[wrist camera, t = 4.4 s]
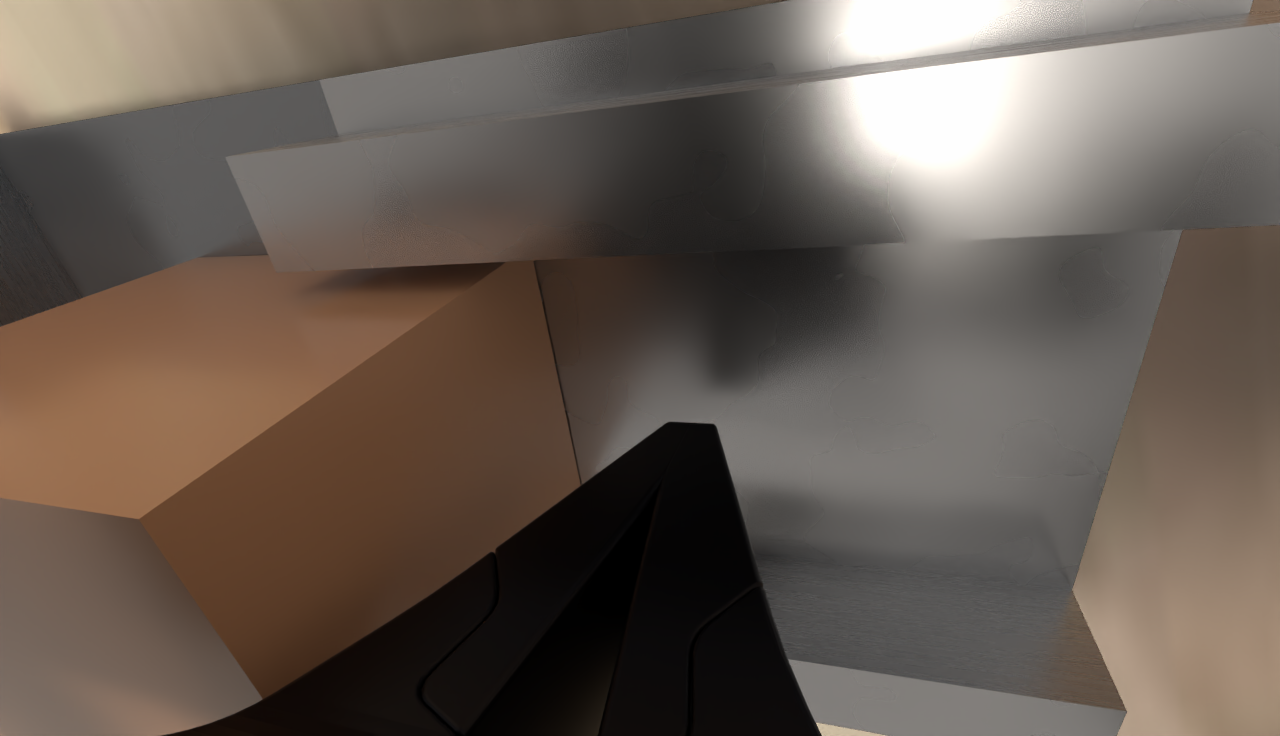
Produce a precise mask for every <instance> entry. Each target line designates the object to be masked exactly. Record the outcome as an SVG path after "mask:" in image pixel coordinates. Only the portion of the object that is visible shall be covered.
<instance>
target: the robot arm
mask: <svg viewBox="0 0 1280 736" xmlns="http://www.w3.org/2000/svg"><path fill="white" fill-rule="evenodd" d="M161 736H822V735H821V733H820V731H819V729H818V727H817V725H816V723H815V720H814V718H813V716H812V714H811V712H810V710H809V707H808V705H807V703H806V701H805V699H804V696H803V694H802V691H801V689H800V687H799V684H798V682H797V679H796V677H795V675H794V672H793V670H792V668H791V665H790V663H789V660H788V658H787V656H786V653H785V650H784V647H783V644H782V641H781V638H780V635H779V632H778V629H777V626H776V624H775V621H774V618H773V615H772V611H771V608H770V604H769V601H768V598H767V594H766V591H765V589H764V587H763V582H762V578H761V575H760V572H759V568H758V565H757V561H756V558H755V555H754V551H753V548H752V544H751V541H750V538H749V534H748V531H747V527H746V524H745V521H744V517H743V514H742V511H741V507H740V504H739V500H738V497H737V494H736V490H735V487H734V483H733V480H732V477H731V473H730V470H729V466H728V463H727V460H726V456H725V453H724V450H723V446H722V443H721V439H720V436H719V433H718V429H717V427H716V425H714V424H711V423H690V422H667V423H665V424H664V425H662V426H661V427H660V428H658V429H657V430H656V431H654V432H653V433H652V434H650V435H649V436H647V437H646V438H645V439H643V440H642V441H641V442H639V443H638V444H637V445H635V446H634V447H632V448H631V449H630V450H628V451H627V452H626V453H624V454H623V455H622V456H620V457H619V458H618V459H616V460H615V461H613V462H612V463H611V464H609V465H608V466H607V467H605V468H604V469H603V470H601V471H600V472H598V473H597V474H596V475H594V476H593V477H592V478H590V479H589V480H588V481H586V482H585V483H583V484H582V485H581V486H579V487H578V488H577V489H575V490H574V491H573V492H571V493H570V494H569V495H567V496H566V497H564V498H563V499H562V500H560V501H559V502H558V503H556V504H555V505H554V506H552V507H551V508H549V509H548V510H547V511H545V512H544V513H543V514H541V515H540V516H539V517H537V518H536V519H535V520H533V521H532V522H530V523H529V524H528V525H526V526H525V527H524V528H522V529H521V530H520V531H518V532H517V533H515V534H514V535H513V536H511V537H510V538H509V539H507V540H506V541H505V542H503V543H502V544H501V545H499V546H498V547H497V548H496V549H495V553H494V552H489V553H488V554H487V555H485V556H484V557H482V558H481V559H480V560H478V561H477V562H476V563H474V564H473V565H472V566H470V567H469V568H468V569H466V570H465V571H463V572H462V573H460V574H459V575H458V576H456V577H455V578H453V579H452V580H450V581H449V582H448V583H446V584H445V585H443V586H442V587H440V588H439V589H438V590H436V591H435V592H433V593H432V594H430V595H429V596H427V597H426V598H424V599H423V600H421V601H420V602H418V603H417V604H415V605H414V606H412V607H410V608H409V609H407V610H406V611H404V612H403V613H401V614H400V615H398V616H396V617H395V618H393V619H392V620H390V621H389V622H387V623H386V624H384V625H382V626H381V627H379V628H378V629H376V630H374V631H373V632H371V633H370V634H368V635H366V636H365V637H363V638H361V639H360V640H358V641H357V642H355V643H353V644H352V645H350V646H349V647H347V648H345V649H344V650H342V651H341V652H339V653H337V654H336V655H334V656H333V657H331V658H329V659H328V660H326V661H324V662H323V663H321V664H320V665H318V666H316V667H315V668H313V669H312V670H310V671H308V672H307V673H305V674H304V675H302V676H300V677H299V678H297V679H295V680H294V681H292V682H291V683H289V684H287V685H286V686H284V687H283V688H281V689H279V690H278V691H276V692H274V693H273V694H271V695H269V696H267V697H266V698H264V699H262V700H261V701H259V702H257V703H255V704H253V705H251V706H249V707H247V708H245V709H243V710H241V711H239V712H237V713H235V714H232V715H230V716H227V717H225V718H222V719H219V720H217V721H214V722H212V723H209V724H205V725H202V726H199V727H195V728H192V729H189V730H184V731H180V732H176V733H171V734H166V735H161Z"/></svg>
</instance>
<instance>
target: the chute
mask: <svg viewBox="0 0 1280 736" xmlns="http://www.w3.org/2000/svg"><path fill="white" fill-rule="evenodd" d="M1252 2H1253V0H788V1H782V2H776V3H770V4H764V5H758V6H752V7H746V8H740V9H734V10H729V11H723V12H717V13H711V14H705V15H699V16H693V17H687V18H681V19H675V20H670V21H664V22H658V23H652V24H646V25H640V26H634V27H628V28H622V29H616V30H611V31H605V32H599V33H593V34H587V35H581V36H575V37H569V38H563V39H557V40H552V41H546V42H540V43H534V44H528V45H522V46H516V47H510V48H504V49H498V50H493V51H487V52H481V53H475V54H469V55H463V56H457V57H451V58H445V59H439V60H434V61H428V62H422V63H416V64H410V65H404V66H398V67H392V68H386V69H380V70H375V71H369V72H363V73H357V74H351V75H345V76H339V77H333V78H327V79H321V80H317V81H311V82H305V83H299V84H293V85H287V86H281V87H275V88H270V89H264V90H258V91H252V92H246V93H240V94H234V95H228V96H222V97H216V98H210V99H205V100H199V101H193V102H187V103H181V104H175V105H169V106H163V107H157V108H151V109H146V110H140V111H134V112H128V113H122V114H116V115H110V116H104V117H98V118H92V119H86V120H81V121H75V122H69V123H63V124H57V125H51V126H45V127H39V128H33V129H27V130H22V131H16V132H10V133H4V134H0V327H1V326H4V325H7V324H10V323H13V322H15V321H18V320H21V319H24V318H27V317H30V316H33V315H35V314H38V313H41V312H44V311H47V310H50V309H53V308H55V307H58V306H61V305H64V304H67V303H70V302H72V301H75V300H78V299H81V298H84V297H87V296H90V295H92V294H95V293H98V292H101V291H104V290H107V289H110V288H112V287H115V286H118V285H121V284H124V283H127V282H130V281H132V280H135V279H138V278H141V277H144V276H147V275H149V274H152V273H155V272H158V271H161V270H164V269H167V268H169V267H172V266H175V265H178V264H181V263H184V262H187V261H189V260H192V259H195V258H201V257H228V256H256V255H269V257H270V260H271V262H272V264H273V266H274V269H275V271H276V273H279V272H300V271H321V270H342V269H363V268H384V267H406V266H427V265H448V264H469V263H490V262H511V261H532V260H533V262H534V266H535V271H536V276H537V281H538V285H539V290H540V295H541V300H542V304H543V309H544V314H545V319H546V323H547V328H548V333H549V337H550V342H551V347H552V352H553V356H554V361H555V366H556V371H557V375H558V380H559V385H560V390H561V394H562V399H563V404H564V409H565V413H566V418H567V423H568V427H569V432H570V437H571V442H572V446H573V451H574V456H575V461H576V465H577V470H578V475H579V480H580V484H581V485H582V484H583V483H585V482H586V481H588V480H589V479H590V478H592V477H593V476H594V475H596V474H597V473H598V472H600V471H601V470H603V469H604V468H605V467H607V466H608V465H609V464H611V463H612V462H613V461H615V460H616V459H618V458H619V457H620V456H622V455H623V454H624V453H626V452H627V451H628V450H630V449H631V448H632V447H634V446H635V445H637V444H638V443H639V442H641V441H642V440H643V439H645V438H646V437H647V436H649V435H650V434H652V433H653V432H654V431H656V430H657V429H658V428H660V427H661V426H662V425H664V424H665V423H667V422H690V423H711V424H714V425H716V427H717V429H718V433H719V436H720V439H721V443H722V446H723V450H724V453H725V456H726V460H727V463H728V466H729V470H730V473H731V477H732V480H733V483H734V487H735V490H736V494H737V497H738V500H739V504H740V507H741V511H742V514H743V517H744V521H745V524H746V527H747V531H748V534H749V538H750V541H751V544H752V548H753V551H754V555H755V558H756V561H757V565H758V568H759V572H760V575H761V578H762V582H763V587H764V589H765V591H766V594H767V598H768V601H769V604H770V608H771V611H772V615H773V618H774V621H775V624H776V626H777V629H778V632H779V635H780V638H781V641H782V644H783V647H784V650H785V653H786V656H787V658H788V660H789V663H790V665H791V668H792V670H793V672H794V675H795V677H796V679H797V682H798V684H799V687H800V689H801V691H802V694H803V696H804V699H805V701H806V703H807V705H808V707H809V710H810V712H811V714H812V716H813V718H814V720H815V722H817V723H823V724H828V725H834V726H839V727H845V728H850V729H855V730H861V731H866V732H872V733H877V734H883V735H888V736H1117V734H1118V731H1119V729H1120V727H1121V724H1122V722H1123V720H1124V717H1125V715H1126V713H1127V711H1126V708H1125V706H1124V704H1123V702H1122V700H1121V697H1120V695H1119V693H1118V691H1117V688H1116V686H1115V684H1114V682H1113V680H1112V677H1111V675H1110V673H1109V671H1108V669H1107V666H1106V664H1105V662H1104V660H1103V658H1102V655H1101V653H1100V651H1099V649H1098V647H1097V644H1096V642H1095V640H1094V638H1093V636H1092V633H1091V631H1090V629H1089V627H1088V625H1087V622H1086V620H1085V618H1084V616H1083V613H1082V611H1081V609H1080V607H1079V605H1078V602H1077V600H1076V598H1075V596H1074V594H1073V591H1072V588H1073V585H1074V582H1075V578H1076V575H1077V572H1078V569H1079V565H1080V562H1081V559H1082V556H1083V552H1084V549H1085V546H1086V543H1087V539H1088V536H1089V533H1090V529H1091V526H1092V523H1093V520H1094V516H1095V513H1096V510H1097V507H1098V503H1099V500H1100V497H1101V494H1102V490H1103V487H1104V484H1105V481H1106V477H1107V474H1108V471H1109V468H1110V464H1111V461H1112V458H1113V455H1114V451H1115V448H1116V445H1117V442H1118V438H1119V435H1120V432H1121V429H1122V425H1123V422H1124V419H1125V416H1126V412H1127V409H1128V406H1129V403H1130V399H1131V396H1132V393H1133V389H1134V386H1135V383H1136V380H1137V376H1138V373H1139V370H1140V367H1141V363H1142V360H1143V357H1144V354H1145V350H1146V347H1147V344H1148V341H1149V337H1150V334H1151V331H1152V328H1153V324H1154V321H1155V318H1156V315H1157V311H1158V308H1159V305H1160V302H1161V298H1162V295H1163V292H1164V289H1165V285H1166V282H1167V279H1168V276H1169V272H1170V269H1171V266H1172V263H1173V259H1174V256H1175V253H1176V250H1177V246H1178V243H1179V240H1180V236H1181V233H1182V230H1185V229H1206V228H1227V227H1248V226H1269V225H1280V11H1277V12H1259V13H1249V12H1250V9H1251V5H1252Z"/></svg>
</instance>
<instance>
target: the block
mask: <svg viewBox="0 0 1280 736" xmlns="http://www.w3.org/2000/svg"><path fill="white" fill-rule="evenodd" d="M579 486H581V484H580V480H579V475H578V470H577V465H576V461H575V456H574V451H573V446H572V442H571V437H570V432H569V427H568V423H567V418H566V413H565V409H564V404H563V399H562V394H561V390H560V385H559V380H558V375H557V371H556V366H555V361H554V356H553V352H552V347H551V342H550V337H549V333H548V328H547V323H546V319H545V314H544V309H543V304H542V300H541V295H540V290H539V285H538V281H537V276H536V271H535V266H534V262H533V260H532V261H511V262H490V263H469V264H448V265H427V266H406V267H384V268H363V269H342V270H321V271H300V272H279V273H276V271H275V269H274V266H273V264H272V262H271V260H270V257H269V255H256V256H228V257H201V258H195V259H192V260H189V261H187V262H184V263H181V264H178V265H175V266H172V267H169V268H167V269H164V270H161V271H158V272H155V273H152V274H149V275H147V276H144V277H141V278H138V279H135V280H132V281H130V282H127V283H124V284H121V285H118V286H115V287H112V288H110V289H107V290H104V291H101V292H98V293H95V294H92V295H90V296H87V297H84V298H81V299H78V300H75V301H72V302H70V303H67V304H64V305H61V306H58V307H55V308H53V309H50V310H47V311H44V312H41V313H38V314H35V315H33V316H30V317H27V318H24V319H21V320H18V321H15V322H13V323H10V324H7V325H4V326H1V327H0V736H161V735H166V734H171V733H176V732H180V731H184V730H189V729H192V728H195V727H199V726H202V725H205V724H209V723H212V722H214V721H217V720H219V719H222V718H225V717H227V716H230V715H232V714H235V713H237V712H239V711H241V710H243V709H245V708H247V707H249V706H251V705H253V704H255V703H257V702H259V701H261V700H262V699H264V698H266V697H267V696H269V695H271V694H273V693H274V692H276V691H278V690H279V689H281V688H283V687H284V686H286V685H287V684H289V683H291V682H292V681H294V680H295V679H297V678H299V677H300V676H302V675H304V674H305V673H307V672H308V671H310V670H312V669H313V668H315V667H316V666H318V665H320V664H321V663H323V662H324V661H326V660H328V659H329V658H331V657H333V656H334V655H336V654H337V653H339V652H341V651H342V650H344V649H345V648H347V647H349V646H350V645H352V644H353V643H355V642H357V641H358V640H360V639H361V638H363V637H365V636H366V635H368V634H370V633H371V632H373V631H374V630H376V629H378V628H379V627H381V626H382V625H384V624H386V623H387V622H389V621H390V620H392V619H393V618H395V617H396V616H398V615H400V614H401V613H403V612H404V611H406V610H407V609H409V608H410V607H412V606H414V605H415V604H417V603H418V602H420V601H421V600H423V599H424V598H426V597H427V596H429V595H430V594H432V593H433V592H435V591H436V590H438V589H439V588H440V587H442V586H443V585H445V584H446V583H448V582H449V581H450V580H452V579H453V578H455V577H456V576H458V575H459V574H460V573H462V572H463V571H465V570H466V569H468V568H469V567H470V566H472V565H473V564H474V563H476V562H477V561H478V560H480V559H481V558H482V557H484V556H485V555H487V554H488V553H489V552H494V553H495V549H496V548H497V547H498V546H499V545H501V544H502V543H503V542H505V541H506V540H507V539H509V538H510V537H511V536H513V535H514V534H515V533H517V532H518V531H520V530H521V529H522V528H524V527H525V526H526V525H528V524H529V523H530V522H532V521H533V520H535V519H536V518H537V517H539V516H540V515H541V514H543V513H544V512H545V511H547V510H548V509H549V508H551V507H552V506H554V505H555V504H556V503H558V502H559V501H560V500H562V499H563V498H564V497H566V496H567V495H569V494H570V493H571V492H573V491H574V490H575V489H577V488H578V487H579Z"/></svg>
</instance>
